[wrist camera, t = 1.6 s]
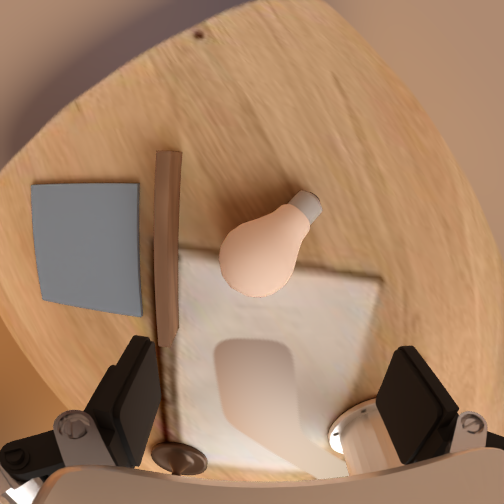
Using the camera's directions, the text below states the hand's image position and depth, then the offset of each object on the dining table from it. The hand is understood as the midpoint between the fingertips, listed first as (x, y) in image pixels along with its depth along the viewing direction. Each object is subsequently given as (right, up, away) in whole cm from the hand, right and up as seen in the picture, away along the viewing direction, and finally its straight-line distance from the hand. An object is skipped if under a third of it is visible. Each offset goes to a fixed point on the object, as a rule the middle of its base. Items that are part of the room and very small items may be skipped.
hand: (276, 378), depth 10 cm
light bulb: (+1, +6, +18) cm, 19 cm away
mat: (-19, +5, +18) cm, 27 cm away
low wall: (-9, +5, +18) cm, 21 cm away
